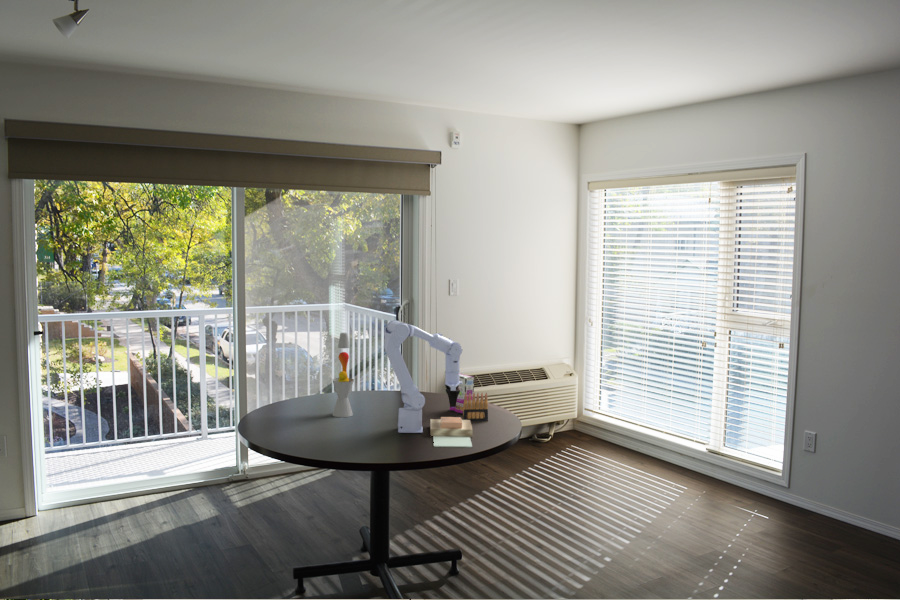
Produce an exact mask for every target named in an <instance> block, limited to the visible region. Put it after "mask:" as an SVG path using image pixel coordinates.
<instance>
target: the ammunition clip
mask: <svg viewBox="0 0 900 600" xmlns="http://www.w3.org/2000/svg"><path fill="white" fill-rule="evenodd" d="M488 406H489V401H488V393H487V392H485V394H484V393H483V392H481V394H479V392H477V393H476V394H475V392H474V393H473V397H472V408H471V394H470V393H469V396H468V406H467V394H466V393H465V396H464V404H463V414H462V417H461V420H470V422H488V421H489V411H488V410H489V407H488Z"/></svg>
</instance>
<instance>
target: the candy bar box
mask: <svg viewBox="0 0 900 600" xmlns="http://www.w3.org/2000/svg"><path fill="white" fill-rule="evenodd" d="M460 381H462V384H459V387H458V389H457V390H460V393H459V394H458V397H457V402H456V406H455V407H450V406H449V411H451V412H455V413H457V414H460V415H463V404H464V396H465V393H466V394H467V406H468V396H469V393H470V394H471V408H472V397H473V393H475V391H474V389H475V377H474V376H472V375H471V376H470V375H468V374H463V373H460Z"/></svg>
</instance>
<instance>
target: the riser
mask: <svg viewBox="0 0 900 600" xmlns="http://www.w3.org/2000/svg"><path fill="white" fill-rule="evenodd" d="M429 420H430V423H429V433H430V435H431V436H460V437H470V438H473V433H474V432H473V426H472V421H470V420H462V419H461V420H462V428H441V418H438V419H437V418H435V419H433V418H430V419H429ZM431 436H430V437H431Z"/></svg>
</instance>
